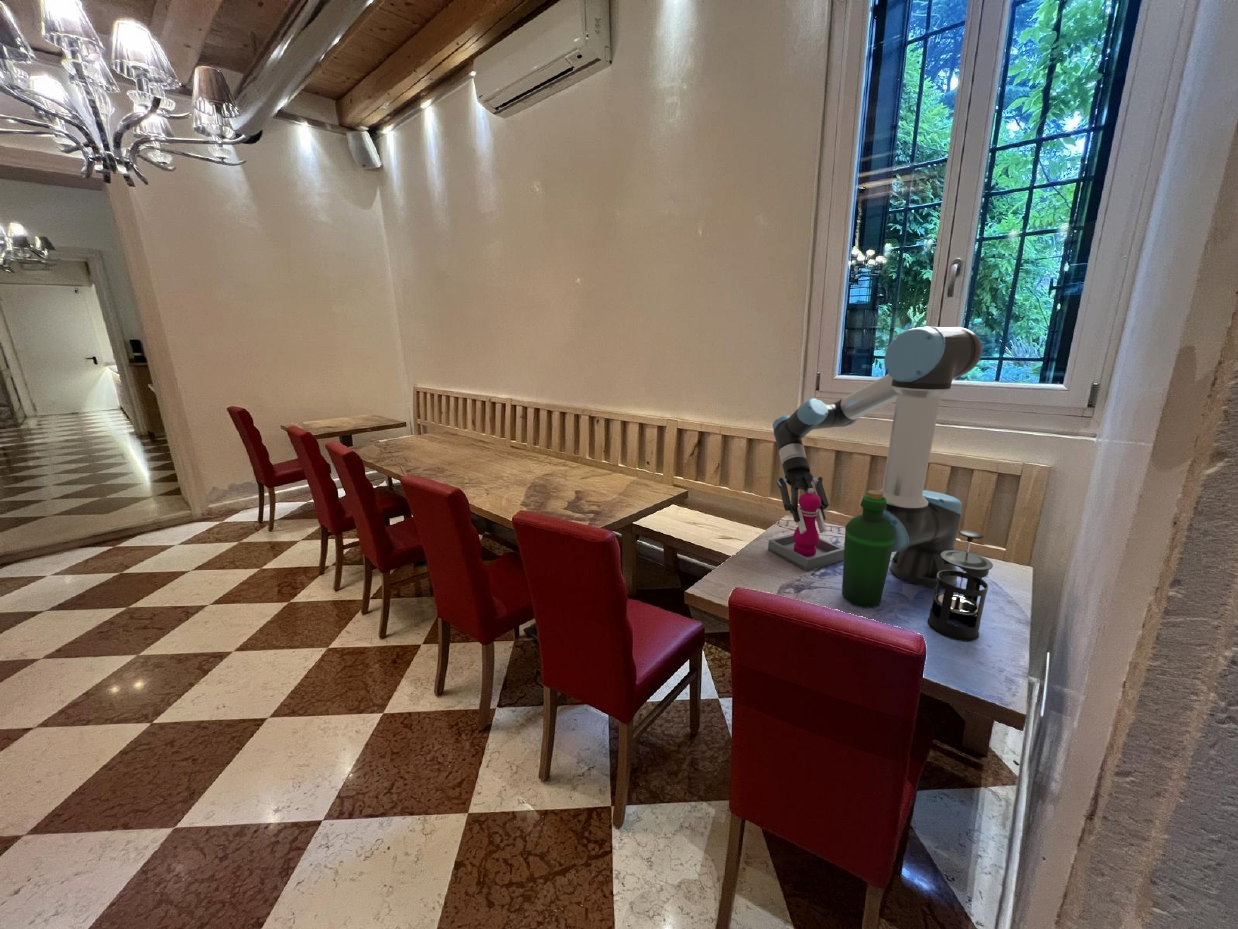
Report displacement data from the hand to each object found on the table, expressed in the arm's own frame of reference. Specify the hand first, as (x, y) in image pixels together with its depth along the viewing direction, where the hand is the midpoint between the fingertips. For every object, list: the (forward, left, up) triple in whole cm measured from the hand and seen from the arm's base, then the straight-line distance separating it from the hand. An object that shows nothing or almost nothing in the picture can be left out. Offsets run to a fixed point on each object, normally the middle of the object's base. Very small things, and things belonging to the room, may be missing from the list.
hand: (813, 531), depth 132 cm
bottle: (-21, +5, -9) cm, 23 cm away
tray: (+3, -1, -9) cm, 10 cm away
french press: (-38, -2, -9) cm, 39 cm away
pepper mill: (+3, -2, -8) cm, 9 cm away
